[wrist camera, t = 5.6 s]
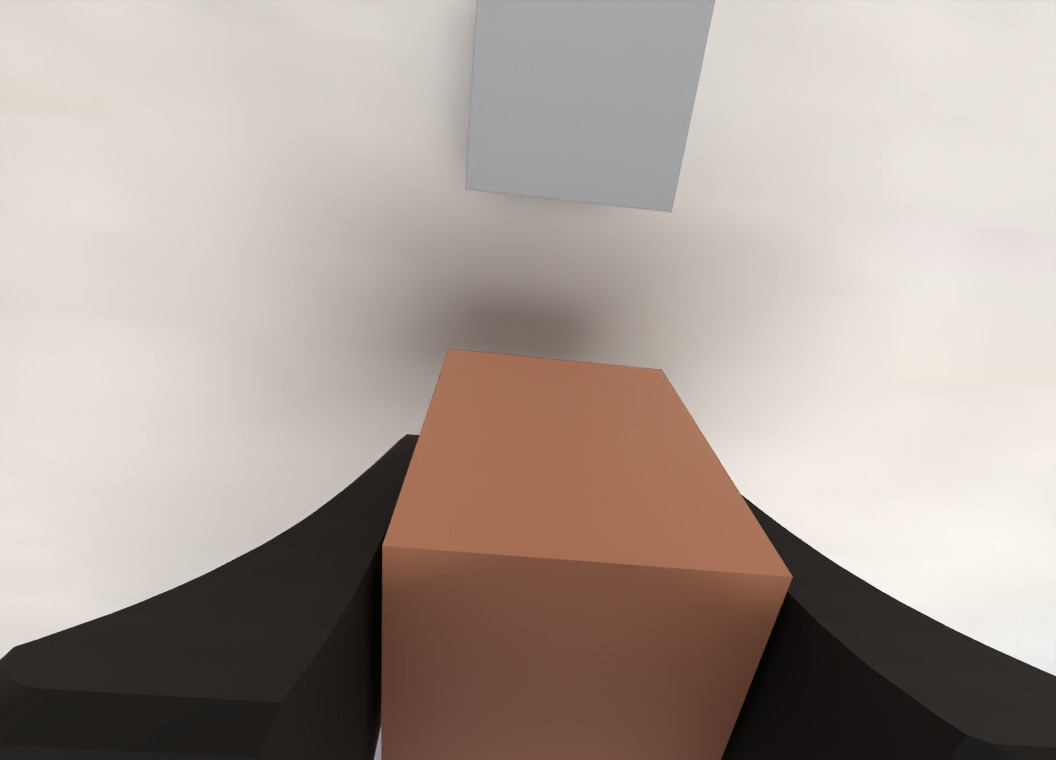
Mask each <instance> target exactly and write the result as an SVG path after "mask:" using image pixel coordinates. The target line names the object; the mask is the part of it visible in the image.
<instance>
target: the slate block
mask: <svg viewBox="0 0 1056 760" xmlns="http://www.w3.org/2000/svg"><path fill="white" fill-rule="evenodd" d="M714 3H715V0H477V5H476V22H475V38H474V55H473V72H472V88H471V105H470V122H469V139H468V155H467V172H466V189H469V190H478V191H487V192H496V193H505V194H514V195H522V196H531V197H540V198H549V199H558V200H567V201H575V202H584V203H593V204H602V205H611V206H620V207H628V208H637V209H646V210H655V211H664V212H672V207H673V202H674V198H675V193H676V188H677V183H678V178H679V173H680V168H681V164H682V159H683V154H684V149H685V144H686V139H687V134H688V130H689V125H690V120H691V115H692V110H693V105H694V100H695V96H696V91H697V86H698V81H699V76H700V71H701V66H702V62H703V57H704V52H705V47H706V42H707V37H708V32H709V28H710V23H711V18H712V13H713V8H714Z"/></svg>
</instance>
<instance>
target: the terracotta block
mask: <svg viewBox="0 0 1056 760" xmlns="http://www.w3.org/2000/svg"><path fill="white" fill-rule="evenodd" d="M792 578H793V576H792V575H791V573H790V572H789V570H788V568H787V567H786V565H785V564H784V562H783V561H782V559H781V557H780V556H779V554H778V553H777V551H776V549H775V548H774V546H773V545H772V543H771V542H770V540H769V538H768V537H767V535H766V534H765V532H764V531H763V529H762V527H761V526H760V524H759V523H758V521H757V519H756V518H755V516H754V515H753V513H752V512H751V510H750V508H749V507H748V505H747V504H746V502H745V500H744V499H743V497H742V496H741V494H740V493H739V491H738V489H737V488H736V486H735V485H734V483H733V481H732V480H731V478H730V477H729V475H728V474H727V472H726V470H725V469H724V467H723V466H722V464H721V462H720V461H719V459H718V458H717V456H716V455H715V453H714V451H713V450H712V448H711V447H710V445H709V443H708V442H707V440H706V439H705V437H704V436H703V434H702V432H701V431H700V429H699V428H698V426H697V425H696V423H695V421H694V420H693V418H692V417H691V415H690V413H689V412H688V410H687V409H686V407H685V406H684V404H683V402H682V401H681V399H680V398H679V396H678V394H677V393H676V391H675V390H674V388H673V387H672V385H671V383H670V382H669V380H668V379H667V377H666V375H665V374H664V372H663V371H662V370H660V369H650V368H639V367H629V366H619V365H609V364H598V363H588V362H578V361H568V360H557V359H547V358H537V357H527V356H516V355H506V354H496V353H486V352H475V351H465V350H455V349H448V352H447V355H446V358H445V361H444V364H443V367H442V370H441V373H440V376H439V379H438V382H437V385H436V388H435V391H434V394H433V397H432V400H431V403H430V406H429V409H428V412H427V415H426V418H425V421H424V424H423V427H422V430H421V432H420V435H419V438H418V441H417V444H416V447H415V450H414V453H413V456H412V459H411V462H410V465H409V468H408V471H407V474H406V477H405V480H404V483H403V486H402V489H401V492H400V495H399V498H398V501H397V504H396V507H395V510H394V513H393V516H392V519H391V522H390V525H389V527H388V530H387V533H386V536H385V539H384V542H383V545H382V698H381V760H721V758H722V756H723V753H724V751H725V748H726V746H727V743H728V740H729V738H730V735H731V733H732V730H733V728H734V725H735V723H736V720H737V718H738V715H739V712H740V710H741V707H742V705H743V702H744V700H745V697H746V695H747V692H748V690H749V687H750V684H751V682H752V679H753V677H754V674H755V672H756V669H757V667H758V664H759V662H760V659H761V656H762V654H763V651H764V649H765V646H766V644H767V641H768V639H769V636H770V634H771V631H772V628H773V626H774V623H775V621H776V618H777V616H778V613H779V611H780V608H781V606H782V603H783V600H784V598H785V595H786V593H787V590H788V588H789V585H790V583H791V580H792Z"/></svg>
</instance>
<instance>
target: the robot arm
mask: <svg viewBox="0 0 1056 760" xmlns="http://www.w3.org/2000/svg"><path fill="white" fill-rule="evenodd" d="M418 438H419V435H409V434H407V435H405V436H404V437H403V438H401V439H400V440H399V441H398V442H397V443H396V444H395V445H394V446H393V447H392V448H391V449H390V450H389V451H388V452H386V453H385V454H384V455H383V456H382V457H381V458H380V459H379V460H378V461H377V462H376V463H375V464H373V465H372V466H371V467H370V468H369V469H368V470H367V471H365V472H364V473H363V474H362V475H361V476H360V477H358V478H357V479H356V480H355V481H354V482H353V483H351V484H350V485H349V486H348V487H347V488H345V489H344V490H343V491H342V492H340V493H339V494H338V495H336V496H335V497H334V498H332V499H331V500H330V501H328V502H327V503H326V504H324V505H323V506H322V507H320V508H319V509H318V510H317V511H315V512H314V513H312V514H311V515H310V516H308V517H307V518H305V519H304V520H302V521H301V522H299V523H298V524H296V525H294V526H293V527H291V528H290V529H288V530H286V531H285V532H283V533H281V534H280V535H278V536H276V537H275V538H273V539H272V540H270V541H268V542H266V543H265V544H263V545H261V546H259V547H257V548H255V549H253V550H251V551H249V552H248V553H246V554H244V555H242V556H240V557H238V558H236V559H234V560H232V561H230V562H228V563H226V564H224V565H222V566H220V567H219V568H217V569H215V570H213V571H211V572H209V573H207V574H205V575H202V576H200V577H198V578H196V579H194V580H191V581H189V582H187V583H185V584H182V585H180V586H178V587H176V588H173V589H171V590H169V591H166V592H164V593H162V594H159V595H157V596H154V597H152V598H150V599H147V600H145V601H142V602H140V603H137V604H135V605H132V606H130V607H127V608H125V609H122V610H119V611H117V612H114V613H112V614H109V615H106V616H103V617H100V618H97V619H94V620H92V621H89V622H86V623H83V624H80V625H77V626H75V627H72V628H69V629H66V630H63V631H60V632H57V633H55V634H52V635H49V636H46V637H43V638H40V639H37V640H34V641H31V642H28V643H25V644H22V645H19V646H16V647H14V648H12V649H11V650H10V651H9V652H8V653H7V654H6V655H5V656H4V657H3V658H2V659H1V660H0V760H381V698H382V545H383V542H384V539H385V536H386V533H387V530H388V527H389V525H390V522H391V519H392V516H393V513H394V510H395V507H396V504H397V501H398V498H399V495H400V492H401V489H402V486H403V483H404V480H405V477H406V474H407V471H408V468H409V465H410V462H411V459H412V456H413V453H414V450H415V447H416V444H417V441H418ZM741 496H742V495H741ZM742 497H743V499H744V500H745V502H746V504H747V505H748V507H749V508H750V510H751V512H752V513H753V515H754V516H755V518H756V519H757V521H758V523H759V524H760V526H761V527H762V529H763V531H764V532H765V534H766V535H767V537H768V538H769V540H770V542H771V543H772V545H773V546H774V548H775V549H776V551H777V553H778V554H779V556H780V557H781V559H782V561H783V562H784V564H785V565H786V567H787V568H788V570H789V572H790V573H791V575H792V576H793V578H792V580H791V583H790V585H789V588H788V590H787V593H786V595H785V598H784V600H783V603H782V606H781V608H780V611H779V613H778V616H777V618H776V621H775V623H774V626H773V628H772V631H771V634H770V636H769V639H768V641H767V644H766V646H765V649H764V651H763V654H762V656H761V659H760V662H759V664H758V667H757V669H756V672H755V674H754V677H753V679H752V682H751V684H750V687H749V690H748V692H747V695H746V697H745V700H744V702H743V705H742V707H741V710H740V712H739V715H738V718H737V720H736V723H735V725H734V728H733V730H732V733H731V735H730V738H729V740H728V743H727V746H726V748H725V751H724V753H723V756H722V758H721V760H1056V676H1054V675H1052V674H1049V673H1047V672H1045V671H1042V670H1040V669H1038V668H1036V667H1033V666H1031V665H1029V664H1027V663H1024V662H1022V661H1020V660H1018V659H1016V658H1013V657H1011V656H1009V655H1007V654H1004V653H1002V652H1000V651H998V650H995V649H993V648H991V647H989V646H987V645H985V644H982V643H980V642H978V641H976V640H974V639H972V638H970V637H968V636H966V635H964V634H962V633H960V632H957V631H955V630H953V629H951V628H949V627H947V626H945V625H944V624H942V623H940V622H938V621H936V620H934V619H932V618H930V617H928V616H926V615H924V614H922V613H921V612H919V611H917V610H915V609H913V608H911V607H909V606H907V605H905V604H903V603H902V602H900V601H898V600H896V599H894V598H893V597H891V596H889V595H887V594H886V593H884V592H882V591H880V590H879V589H877V588H875V587H874V586H872V585H870V584H869V583H867V582H865V581H864V580H862V579H860V578H859V577H857V576H855V575H854V574H852V573H850V572H849V571H847V570H846V569H844V568H842V567H841V566H839V565H838V564H836V563H834V562H833V561H831V560H830V559H828V558H827V557H825V556H824V555H822V554H821V553H819V552H818V551H816V550H815V549H814V548H812V547H811V546H809V545H808V544H806V543H805V542H804V541H802V540H801V539H799V538H798V537H796V536H795V535H794V534H792V533H791V532H789V531H788V530H787V529H785V528H784V527H783V526H781V525H780V524H779V523H777V522H776V521H775V520H773V519H772V518H771V517H769V516H768V515H767V514H765V513H764V512H763V511H762V510H760V509H759V508H758V507H756V506H755V505H754V504H753V503H751V502H750V501H749V500H747V499H746V498H745V497H744V496H742Z"/></svg>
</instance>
